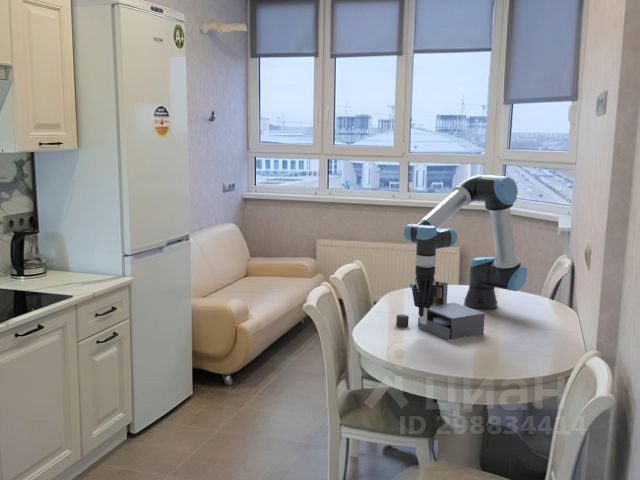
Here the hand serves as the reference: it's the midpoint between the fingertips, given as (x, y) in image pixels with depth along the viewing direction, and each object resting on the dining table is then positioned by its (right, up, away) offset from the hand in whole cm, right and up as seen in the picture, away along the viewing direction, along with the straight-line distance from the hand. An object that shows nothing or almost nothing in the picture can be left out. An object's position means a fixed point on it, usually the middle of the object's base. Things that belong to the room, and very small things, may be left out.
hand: (423, 323), depth 242 cm
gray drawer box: (+13, -4, +8) cm, 16 cm away
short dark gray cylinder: (-7, -3, +13) cm, 15 cm away
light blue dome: (+9, 0, +5) cm, 10 cm away
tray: (+12, -4, +7) cm, 14 cm away
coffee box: (+9, -1, +24) cm, 26 cm away
